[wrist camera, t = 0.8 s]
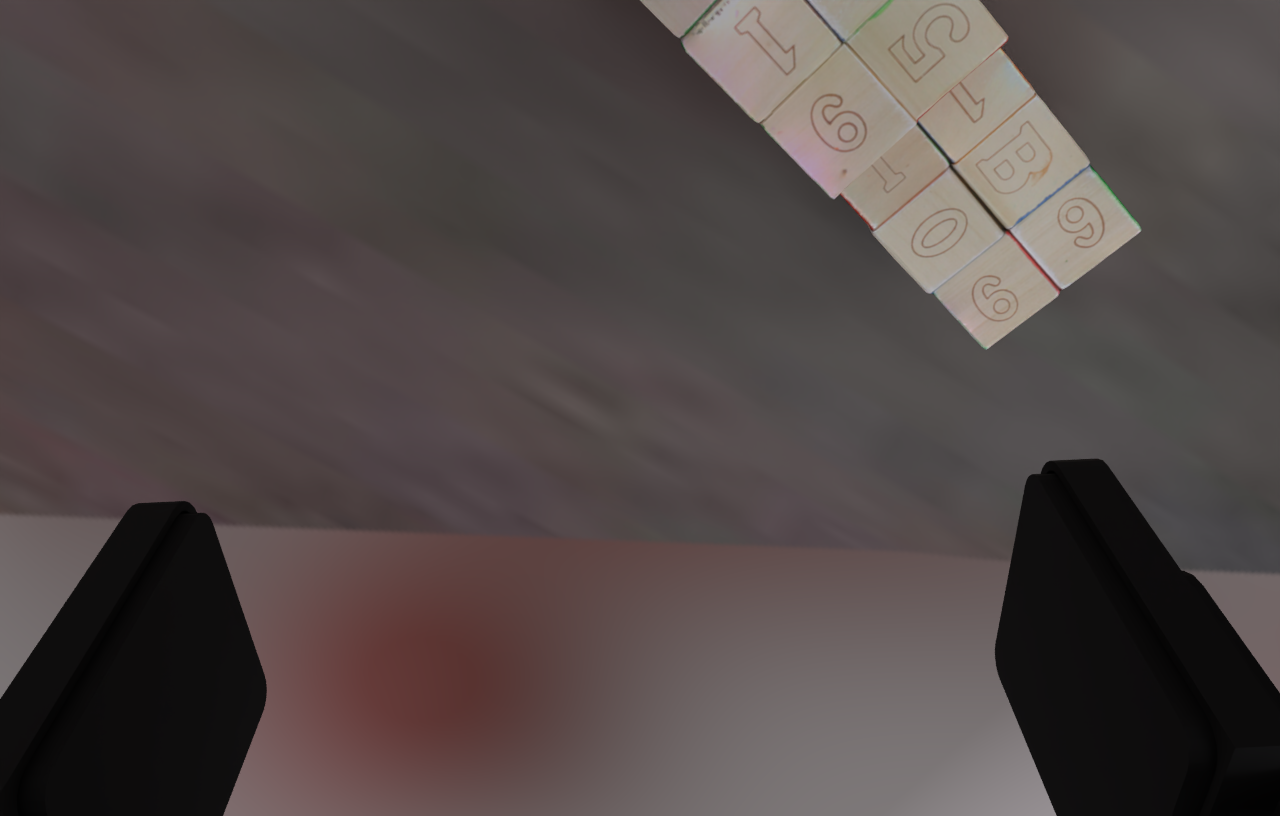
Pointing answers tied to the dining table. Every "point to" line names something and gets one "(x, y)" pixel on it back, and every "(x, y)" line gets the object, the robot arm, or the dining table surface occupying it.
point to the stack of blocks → (918, 141)
